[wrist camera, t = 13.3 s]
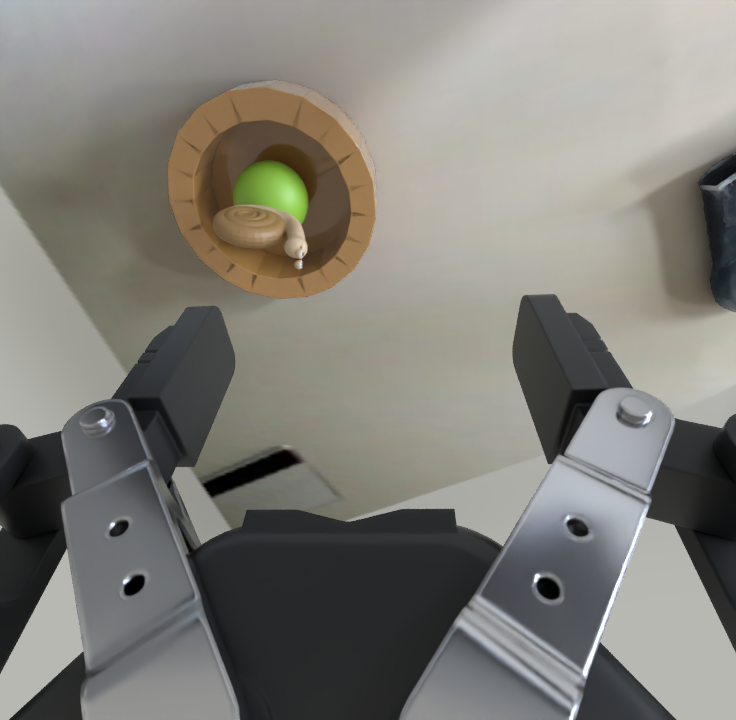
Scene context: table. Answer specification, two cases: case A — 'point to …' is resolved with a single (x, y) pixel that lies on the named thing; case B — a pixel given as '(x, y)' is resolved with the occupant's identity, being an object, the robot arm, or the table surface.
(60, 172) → the table surface
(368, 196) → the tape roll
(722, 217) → the dark blue pouch
